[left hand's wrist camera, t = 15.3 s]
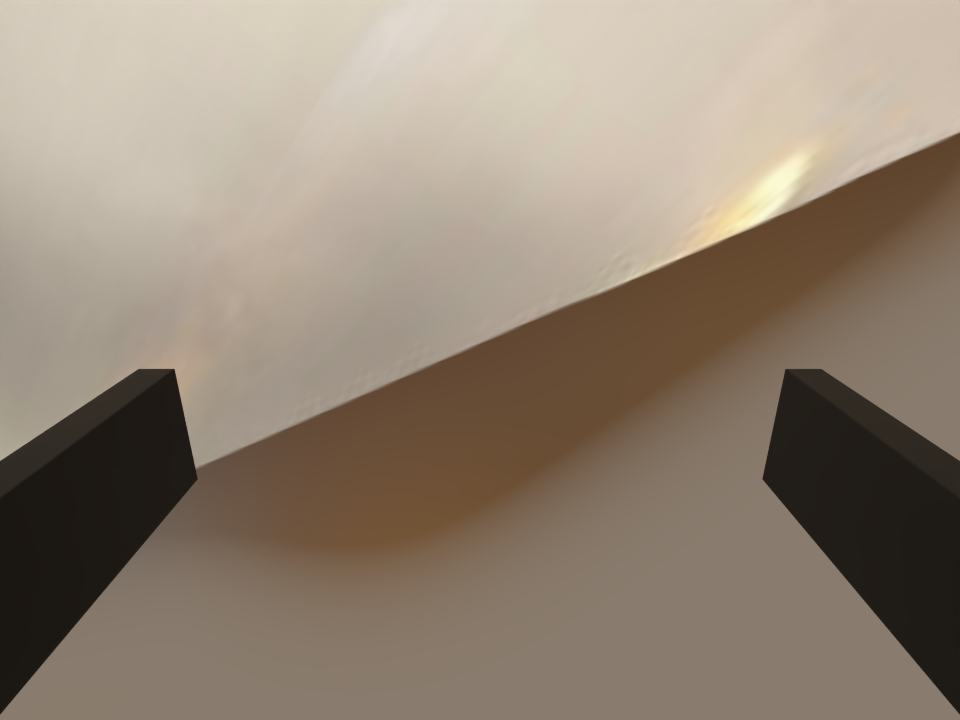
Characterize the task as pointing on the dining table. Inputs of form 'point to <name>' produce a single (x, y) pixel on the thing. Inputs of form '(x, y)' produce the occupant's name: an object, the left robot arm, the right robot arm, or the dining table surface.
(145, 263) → the dining table surface
